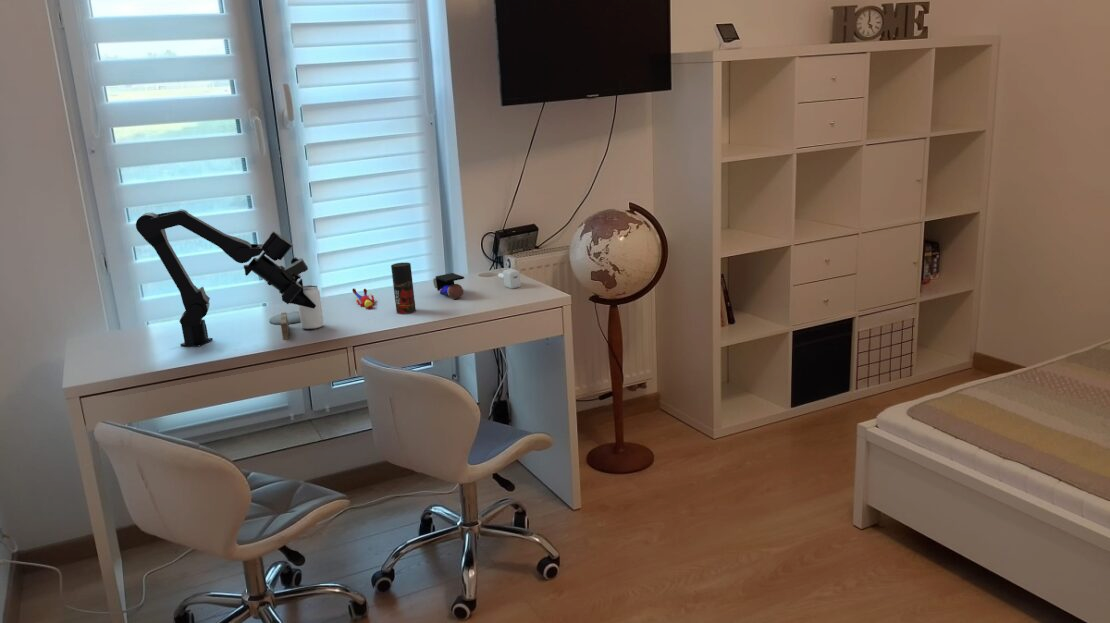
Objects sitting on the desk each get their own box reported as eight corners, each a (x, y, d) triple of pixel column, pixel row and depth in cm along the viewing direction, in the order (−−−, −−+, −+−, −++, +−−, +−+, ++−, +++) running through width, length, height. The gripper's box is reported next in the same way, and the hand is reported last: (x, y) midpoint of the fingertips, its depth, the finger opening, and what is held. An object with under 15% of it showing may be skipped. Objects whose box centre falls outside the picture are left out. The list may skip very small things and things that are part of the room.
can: (317, 329, 250) (312, 290, 247) (297, 329, 251) (292, 290, 248) (327, 323, 256) (322, 284, 253) (307, 323, 258) (302, 284, 254)
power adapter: (494, 284, 294) (493, 267, 292) (506, 281, 296) (505, 265, 295) (510, 289, 284) (508, 272, 283) (522, 287, 287) (521, 270, 285)
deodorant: (393, 313, 263) (387, 266, 259) (402, 308, 269) (396, 262, 265) (410, 314, 262) (405, 266, 258) (418, 309, 267) (413, 262, 263)
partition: (288, 338, 244) (286, 323, 242) (283, 339, 243) (280, 324, 242) (288, 326, 257) (286, 312, 256) (283, 327, 256) (281, 312, 255)
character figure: (365, 282, 289) (373, 294, 270) (371, 293, 290) (379, 306, 272) (350, 289, 287) (357, 302, 269) (356, 301, 289) (363, 314, 270)
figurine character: (433, 297, 287) (449, 301, 274) (430, 275, 286) (445, 277, 272) (452, 294, 290) (468, 297, 277) (449, 272, 289) (465, 274, 275)
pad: (298, 324, 258) (298, 322, 258) (261, 324, 261) (260, 322, 261) (320, 313, 270) (320, 311, 270) (284, 313, 273) (283, 311, 273)
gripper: (288, 256, 238) (333, 290, 244) (288, 245, 255) (330, 277, 261) (263, 287, 238) (308, 320, 244) (264, 274, 255) (307, 305, 261)
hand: (314, 304), depth 253 cm, fingers closed on can, 6 cm apart
